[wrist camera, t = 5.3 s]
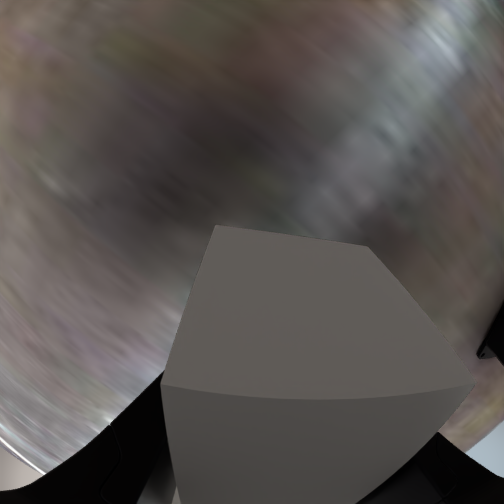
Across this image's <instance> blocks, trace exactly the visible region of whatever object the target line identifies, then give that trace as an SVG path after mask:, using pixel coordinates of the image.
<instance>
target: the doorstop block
mask: <svg viewBox="0 0 504 504" xmlns="http://www.w3.org/2000/svg"><path fill="white" fill-rule="evenodd" d="M476 383H477V382H476V380H475V379H474V377H473V376H472V374H471V373H470V372H469V370H468V369H467V367H466V366H465V364H464V363H463V362H462V360H461V359H460V357H459V356H458V355H457V353H456V352H455V351H454V349H453V348H452V347H451V345H450V344H449V343H448V341H447V340H446V339H445V337H444V336H443V335H442V333H441V332H440V331H439V329H438V328H437V327H436V326H435V324H434V323H433V322H432V320H431V319H430V318H429V317H428V315H427V314H426V313H425V312H424V311H423V309H422V308H421V307H420V306H419V304H418V303H417V302H416V301H415V300H414V298H413V297H412V296H411V295H410V294H409V292H408V291H407V290H406V289H405V288H404V287H403V285H402V284H401V283H400V282H399V281H398V280H397V279H396V277H395V276H394V275H393V274H392V273H391V272H390V271H389V269H388V268H387V267H386V266H385V265H384V264H383V263H382V262H381V261H380V259H379V258H378V257H377V256H376V255H375V254H374V253H373V252H372V251H371V250H370V249H369V247H368V246H362V245H355V244H349V243H342V242H336V241H329V240H323V239H316V238H309V237H302V236H295V235H288V234H281V233H274V232H267V231H260V230H252V229H245V228H237V227H229V226H222V225H215V227H214V230H213V232H212V235H211V238H210V240H209V243H208V246H207V248H206V251H205V254H204V256H203V259H202V262H201V265H200V267H199V270H198V273H197V276H196V278H195V281H194V284H193V287H192V290H191V293H190V295H189V298H188V301H187V304H186V307H185V310H184V313H183V316H182V319H181V322H180V325H179V327H178V330H177V333H176V337H175V340H174V343H173V346H172V349H171V352H170V355H169V358H168V361H167V364H166V367H165V371H164V374H163V377H162V380H161V384H160V386H161V394H162V403H163V410H164V418H165V425H166V431H167V437H168V443H169V449H170V455H171V460H172V466H173V471H174V476H175V480H176V485H177V489H178V494H179V498H180V502H181V504H355V503H357V502H358V501H359V500H361V499H362V498H364V497H365V496H366V495H368V494H369V493H370V492H372V491H373V490H374V489H376V488H377V487H378V486H379V485H381V484H382V483H383V482H384V481H386V480H387V479H388V478H389V477H390V476H392V475H393V474H394V473H395V472H396V471H397V470H398V469H400V468H401V467H402V466H403V465H404V464H405V463H406V462H407V461H408V460H410V459H411V458H412V457H413V456H414V455H415V454H416V453H417V452H418V451H419V450H420V449H421V448H422V447H423V446H424V445H425V444H426V443H427V442H428V441H429V440H430V439H431V438H432V437H433V436H434V435H435V433H436V432H437V431H438V430H439V429H440V428H441V427H442V426H443V425H444V424H445V422H446V421H447V420H448V419H449V418H450V417H451V415H452V414H453V413H454V412H455V411H456V409H457V408H458V407H459V406H460V404H461V403H462V402H463V401H464V399H465V398H466V397H467V395H468V394H469V393H470V391H471V390H472V389H473V387H474V386H475V385H476Z"/></svg>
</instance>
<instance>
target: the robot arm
mask: <svg viewBox="0 0 504 504" xmlns="http://www.w3.org/2000/svg"><path fill="white" fill-rule="evenodd" d="M477 357H478V358H479V359H485V358H492V357H497V359H498V360H499V361H500V362H501V364H502V365H503V366H504V305H503V307H502V309H501V311H500V313H499V315H498V317H497V319H496V321H495V323H494V325H493V327H492V329H491V331H490V333H489V334H488V336H487V338H486V340H485V341H484V343H483V345H482V347H481V348H480V350H479V352H478V353H477ZM164 371H165V370H164ZM164 371H163V372H162V373H161V374H160V375H159V376H158V377H157V378H156V379H155V380H154V381H153V382H152V383H151V384H150V385H149V386H148V387H147V388H146V389H145V390H144V391H143V392H142V393H141V394H140V395H139V396H138V397H137V398H136V399H135V400H134V401H133V402H132V403H131V404H130V405H129V406H128V407H127V408H126V409H125V410H123V411H122V412H121V413H120V414H119V415H118V416H117V417H116V418H115V419H114V420H113V421H112V422H111V423H110V425H111V426H110V425H108V426H107V427H106V428H105V429H104V430H103V431H102V432H101V433H100V434H98V435H97V436H96V437H95V438H94V439H93V440H92V441H91V442H89V443H88V444H87V445H86V446H85V447H83V448H82V449H81V450H80V451H78V452H77V453H75V454H74V455H73V456H71V457H70V458H69V459H67V460H66V461H64V462H63V463H61V464H60V465H58V466H57V467H56V468H54V469H53V470H51V471H50V472H48V473H47V474H45V475H44V476H42V477H41V478H39V479H37V480H36V481H34V482H33V483H31V484H29V485H26V486H24V487H21V488H18V489H13V490H6V491H0V504H172V501H173V497H174V494H175V490H176V486H177V485H176V480H175V476H174V471H173V466H172V460H171V455H170V449H169V443H168V437H167V431H166V425H165V418H164V410H163V403H162V394H161V386H160V384H161V380H162V377H163V374H164ZM355 504H504V478H502V477H500V476H497V475H495V474H494V473H492V472H490V471H489V470H488V469H486V468H485V467H484V466H482V465H481V464H479V463H478V462H476V461H475V460H473V459H472V458H470V457H469V456H468V455H466V454H465V453H464V452H462V451H461V450H460V449H458V448H457V447H456V446H455V445H453V444H452V443H451V442H450V441H449V440H447V439H446V438H445V437H444V436H443V435H442V434H440V433H439V432H436V433H435V435H434V436H433V437H432V438H431V439H430V440H429V441H428V442H427V443H426V444H425V445H424V446H423V447H422V448H421V449H420V450H419V451H418V452H417V453H416V454H415V455H414V456H413V457H412V458H411V459H410V460H408V461H407V462H406V463H405V464H404V465H403V466H402V467H401V468H400V469H398V470H397V471H396V472H395V473H394V474H393V475H392V476H390V477H389V478H388V479H387V480H386V481H384V482H383V483H382V484H381V485H379V486H378V487H377V488H376V489H374V490H373V491H372V492H370V493H369V494H368V495H366V496H365V497H364V498H362V499H361V500H359V501H358V502H357V503H355Z"/></svg>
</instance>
